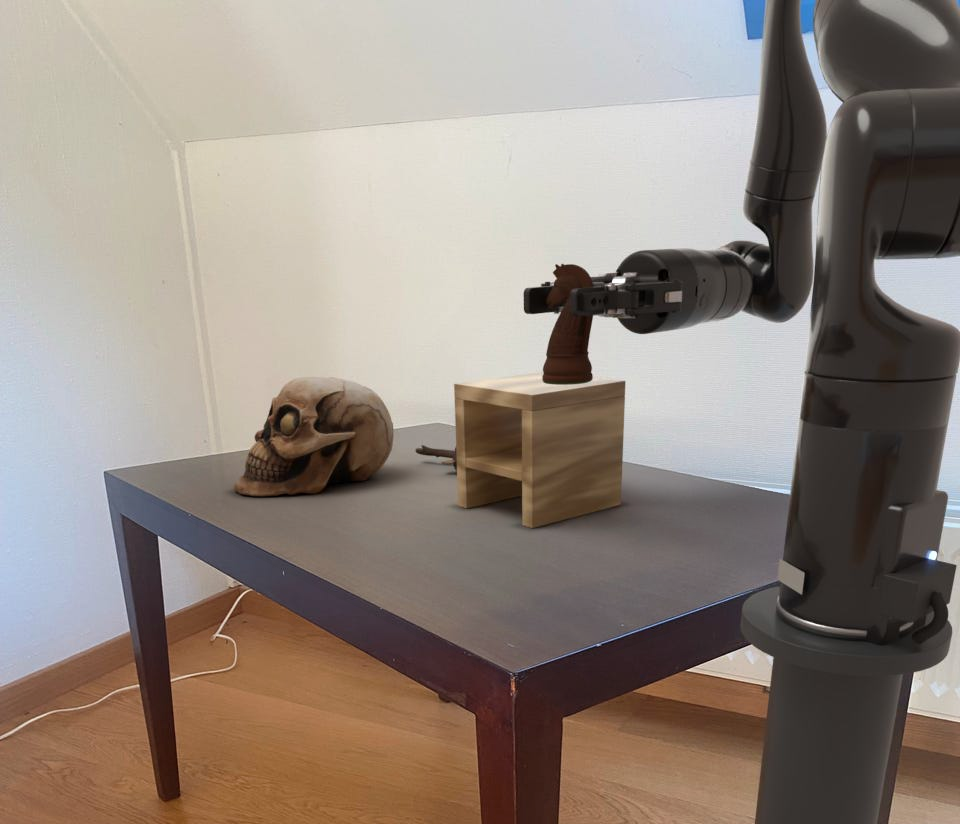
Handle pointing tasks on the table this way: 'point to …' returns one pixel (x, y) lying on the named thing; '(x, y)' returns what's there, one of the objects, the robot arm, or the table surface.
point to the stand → (540, 445)
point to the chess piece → (568, 331)
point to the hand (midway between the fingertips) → (550, 302)
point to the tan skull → (318, 438)
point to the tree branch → (439, 454)
